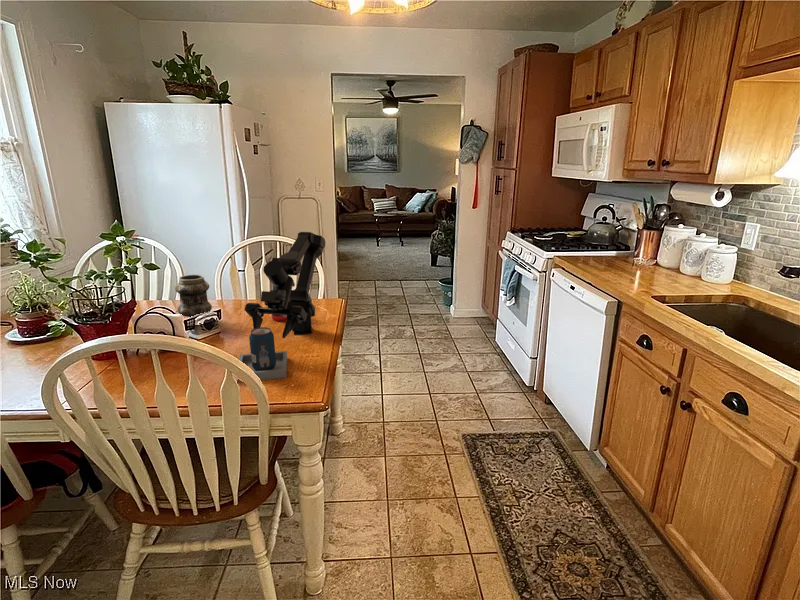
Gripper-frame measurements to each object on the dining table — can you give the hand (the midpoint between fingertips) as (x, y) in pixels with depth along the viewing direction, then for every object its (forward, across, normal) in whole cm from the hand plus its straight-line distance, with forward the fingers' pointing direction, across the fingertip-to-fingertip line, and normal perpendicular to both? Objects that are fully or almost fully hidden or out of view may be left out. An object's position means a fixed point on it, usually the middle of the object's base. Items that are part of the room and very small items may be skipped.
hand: (269, 336), depth 139 cm
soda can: (+10, 0, +2) cm, 10 cm away
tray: (+10, 0, +2) cm, 10 cm away
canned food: (-21, -14, +33) cm, 42 cm away
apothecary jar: (-14, -44, +26) cm, 53 cm away
